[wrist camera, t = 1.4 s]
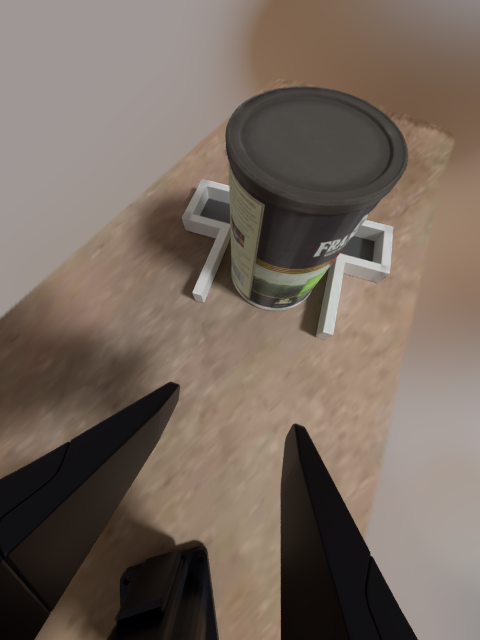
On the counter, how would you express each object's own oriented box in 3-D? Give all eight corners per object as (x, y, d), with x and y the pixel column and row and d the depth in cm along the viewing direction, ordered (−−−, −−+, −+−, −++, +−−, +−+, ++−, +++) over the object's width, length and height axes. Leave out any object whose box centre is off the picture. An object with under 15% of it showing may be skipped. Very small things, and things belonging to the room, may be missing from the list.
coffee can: (330, 268, 25) (440, 130, 12) (281, 329, 22) (349, 239, 9) (265, 225, 27) (295, 65, 14) (213, 275, 24) (186, 137, 11)
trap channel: (370, 353, 22) (408, 343, 17) (155, 288, 24) (135, 263, 19) (386, 193, 29) (415, 155, 25) (223, 154, 31) (221, 112, 27)
